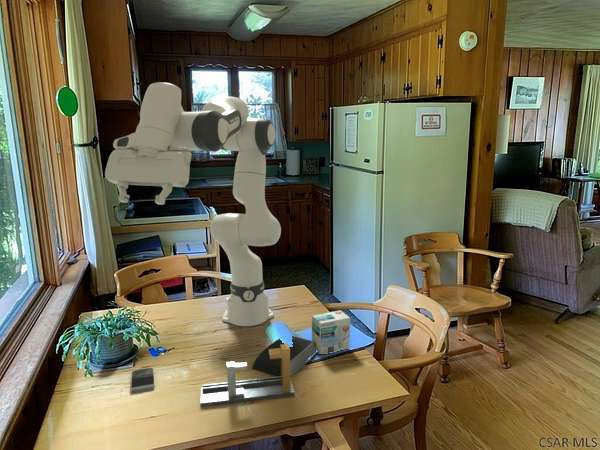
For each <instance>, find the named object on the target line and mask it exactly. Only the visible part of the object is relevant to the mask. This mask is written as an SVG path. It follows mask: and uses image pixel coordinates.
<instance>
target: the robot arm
mask: <svg viewBox="0 0 600 450" xmlns="http://www.w3.org/2000/svg"><path fill="white" fill-rule="evenodd" d="M249 115H250V112H249V107H248V105H247V103H246V102H245V101H244V100H243V99H241V98H240V97H236V96H221V97H217V98H214V99H211V100H209V101H208V102H207V103H206V104H205V105H204V106H203V107H202V110H201V111H185V110H184V109H183V106H182V89H181V88H180V87H179V86H177V85H176V84H173V83H169V82H161V81H160V82H153V83H151V84H149V86H148V87H147V89H146V91H145V94H144V97H143V100H142V102H141V107H140V111H139V116H140V118H139V119H140V120H139V122H138V124H137V126H136V130H135V132H132V133H130V134H128V135H125V136H122V137H119V138H116V139H114V141H113V143H112V146H113V148H114V150H112V152H110V155H109V157H108V158H107V159H108V160H107V163H106V167H105V171H104V176H105V180H107V181H108V182H110V183H112V184H115V185H116V187H117V190H118V192H119V197H118V201H119V202H121V203H126V204H127V203H129V202H130V196H131V195H129V194H127V190H126V189H129V185H131V186H149V187H150V186H151V187H161V188H162V190H161V192H160V193H159V194H158V195H157V194H156V195H155V199H154V203H155V204H157V205H162V206H163V205H165V204H166V198H168V196H169V195H170V194H171V193H172V191H173V188H175V187H176V188H185V187H186V186H187V185H188V184H189V181H190V164H191V161H192V156H193V154H192V151H204V152H212V153H213V152H214V153H215V152H219V151H220V150H222V151H234V152H238V154H237V157H236V161H235V166H234V176H233V184H232V186H233V187H232V195H233V197H234V199H235V200H236V201H237V202H239V203H240V204H242V205H244V207H245V213H234V212H233V213H232V212H228V213H221V214H217V215H215V216H214V217H213V219H212V220H211V222H210V225H209V227H210V228H209V230H210V235H211V237H212V238H213V240H214V241H215V242H217V243H218V244H219V245H220V246H221V248H222V249H223V250H224V252H225V254H226V255H227V258H228V260H229V266H230V267H229V268H230V277H231V278H230V279H231V282H230V287H229V288H230V294H229V296H228V297H225V298H226V299H225V303H226V305H227V306H226V309H225V311H224V314H223V316H222V322H224V323H225V322H226V323H229V324H232V325H233V326H238V327H239V326H240V327H252V326H258V325H261V324H263V323H265V322H266V321H268V320H269V319H272V318H274V317H275V314H274V312H273V311H272V310H271V309H270V304H269V303H270V302H269V295H267V293H266V292H265V283H264V280H263V263H262V260H261V258H260V256H258V255H256V254H255V253H254V252H252V251H251V249H250V248H249V246H252V247H266V246H267V247H268V246H273V245H275V244H277V242H278V241H279V239H280V237H281V233H282V232H281V231H282V227H281V224H280V222H279V221H278V219H277V217H275V216H274V215H273V214H272V212H271V211H270V210H269V208H268V205H267V203H266V202H267V201H266V197H265V196H266V193H265V192H266V191H265V189H266V177H267V175H266V174H267V161H266V154H267V153H268V151H270V150H271V149H272V147H273V146H274V144H275V141H276V129H275V125H274V123H273V122H272V121H271V120H270V119H268V118H263V117H260V118H257V117H249Z"/></svg>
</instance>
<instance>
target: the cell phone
mask: <svg viewBox="0 0 600 450" xmlns="http://www.w3.org/2000/svg"><path fill="white" fill-rule="evenodd" d="M155 379H156V378H155V368H154V367H149V368H148V367H147V368H141V369H136V370H132V372H130V393H131V394H133V395H136V394H141V393H146V392H152V391H154V390H155V387H156V382H155V381H156V380H155Z"/></svg>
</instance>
